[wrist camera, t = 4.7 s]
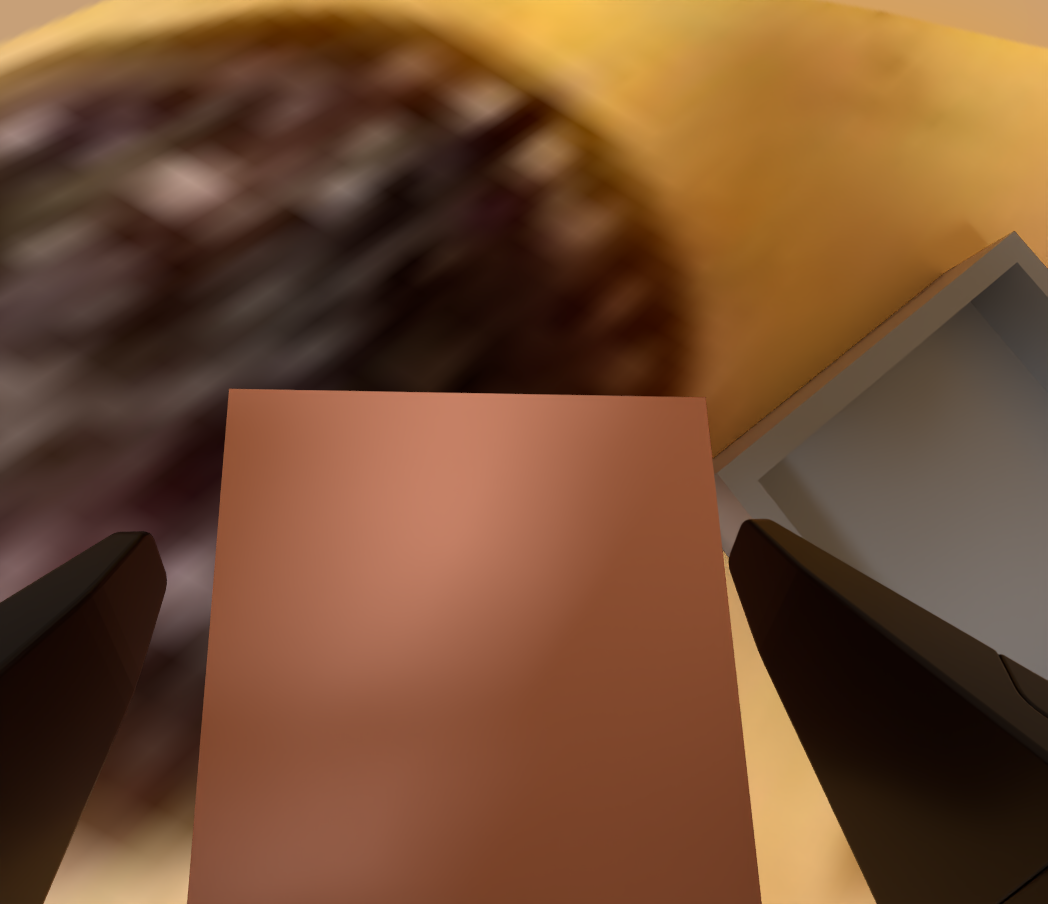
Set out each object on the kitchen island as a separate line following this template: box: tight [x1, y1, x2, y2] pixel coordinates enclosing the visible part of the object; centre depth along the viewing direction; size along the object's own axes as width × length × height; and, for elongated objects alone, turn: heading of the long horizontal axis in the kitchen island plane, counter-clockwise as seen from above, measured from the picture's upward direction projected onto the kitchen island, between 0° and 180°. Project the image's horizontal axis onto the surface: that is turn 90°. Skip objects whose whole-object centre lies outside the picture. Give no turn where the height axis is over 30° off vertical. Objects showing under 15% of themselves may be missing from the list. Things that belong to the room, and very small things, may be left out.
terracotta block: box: [187, 389, 762, 904], centre depth 11 cm, size 6×6×9 cm
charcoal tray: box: [712, 231, 1048, 680], centre depth 17 cm, size 14×14×2 cm
